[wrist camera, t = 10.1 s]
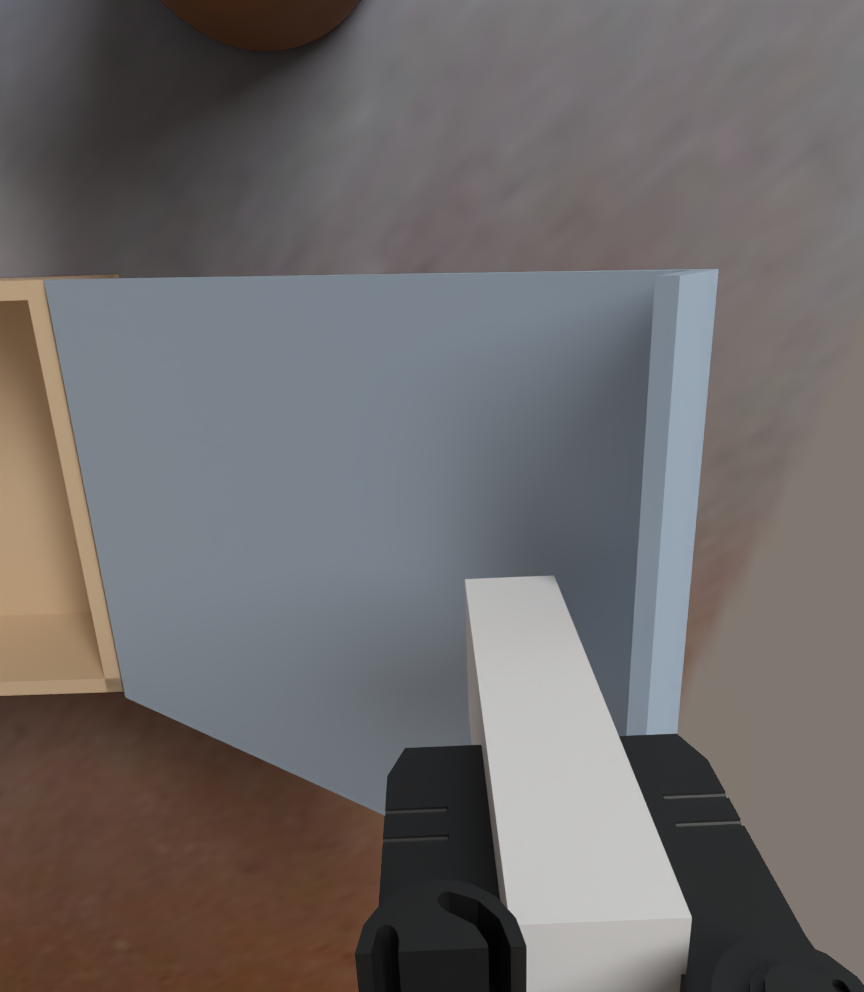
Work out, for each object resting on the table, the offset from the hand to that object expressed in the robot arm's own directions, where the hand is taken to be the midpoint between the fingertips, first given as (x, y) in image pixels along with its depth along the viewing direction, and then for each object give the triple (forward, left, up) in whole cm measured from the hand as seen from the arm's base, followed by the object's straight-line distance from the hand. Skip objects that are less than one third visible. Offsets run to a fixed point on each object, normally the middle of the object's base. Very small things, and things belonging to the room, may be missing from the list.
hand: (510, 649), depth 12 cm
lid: (-5, -2, -3) cm, 6 cm away
